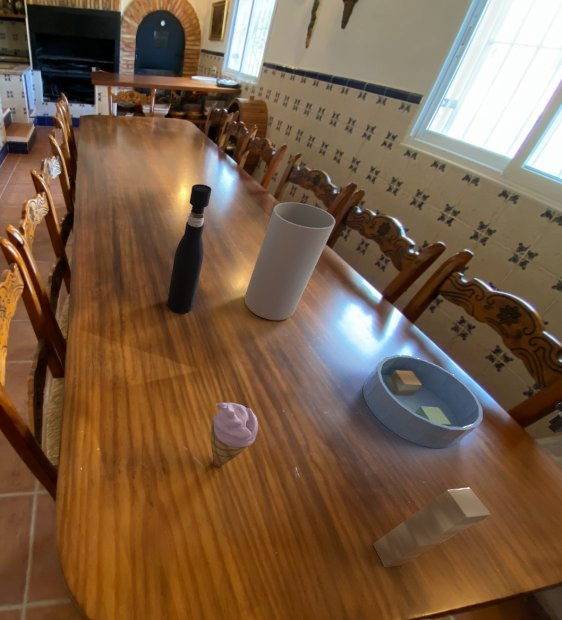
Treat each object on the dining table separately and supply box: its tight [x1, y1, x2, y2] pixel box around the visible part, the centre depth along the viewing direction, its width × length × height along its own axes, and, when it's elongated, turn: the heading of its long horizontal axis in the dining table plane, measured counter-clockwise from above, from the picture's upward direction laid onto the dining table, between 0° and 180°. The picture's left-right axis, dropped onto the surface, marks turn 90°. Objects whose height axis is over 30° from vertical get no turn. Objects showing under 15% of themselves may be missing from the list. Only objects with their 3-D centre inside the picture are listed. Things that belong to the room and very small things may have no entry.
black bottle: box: [166, 183, 212, 315], centre depth 79 cm, size 6×6×30 cm
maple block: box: [387, 370, 422, 396], centre depth 71 cm, size 4×4×4 cm
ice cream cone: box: [210, 402, 259, 468], centre depth 54 cm, size 7×6×15 cm
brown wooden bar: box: [372, 487, 492, 568], centre depth 44 cm, size 3×3×18 cm
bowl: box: [362, 354, 484, 449], centre depth 68 cm, size 17×17×6 cm
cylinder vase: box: [243, 201, 336, 321], centre depth 83 cm, size 12×12×25 cm
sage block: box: [415, 407, 451, 426], centre depth 65 cm, size 4×4×4 cm
